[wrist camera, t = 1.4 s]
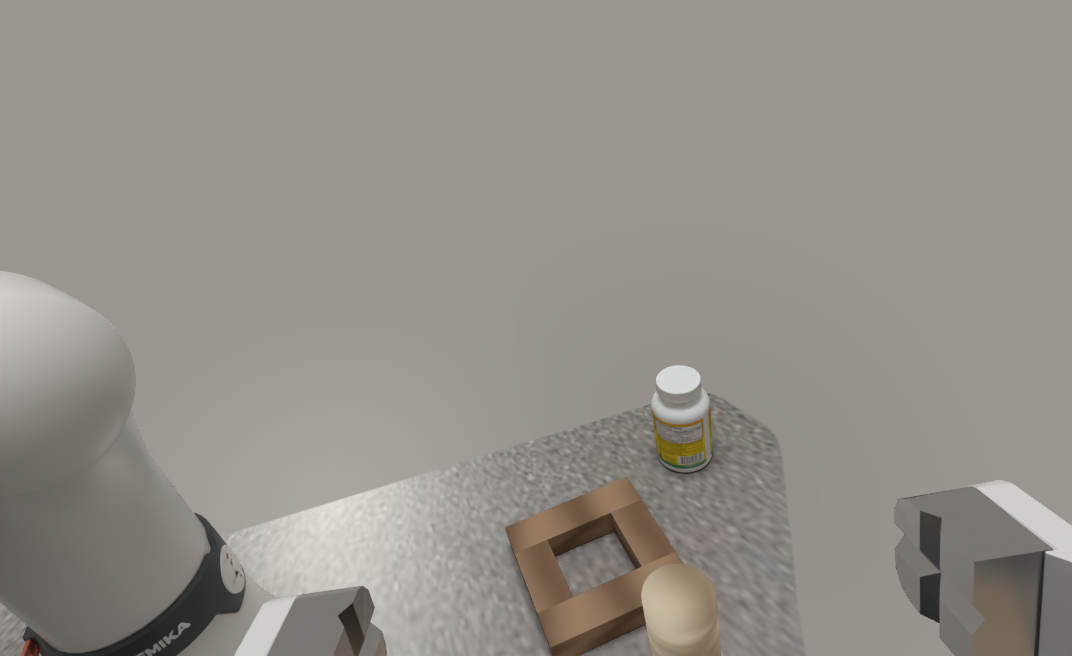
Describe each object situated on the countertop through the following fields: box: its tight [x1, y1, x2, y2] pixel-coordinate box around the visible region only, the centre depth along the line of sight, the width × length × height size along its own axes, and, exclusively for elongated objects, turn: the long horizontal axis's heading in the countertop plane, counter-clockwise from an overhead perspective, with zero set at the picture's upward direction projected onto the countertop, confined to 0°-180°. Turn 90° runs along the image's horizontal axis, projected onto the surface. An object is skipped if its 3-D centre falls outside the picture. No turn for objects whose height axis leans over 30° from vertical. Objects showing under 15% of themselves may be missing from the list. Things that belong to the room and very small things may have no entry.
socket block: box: [505, 477, 683, 656], centre depth 53 cm, size 12×12×2 cm
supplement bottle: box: [651, 366, 712, 473], centre depth 60 cm, size 5×5×10 cm
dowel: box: [641, 564, 721, 656], centre depth 41 cm, size 4×4×12 cm
